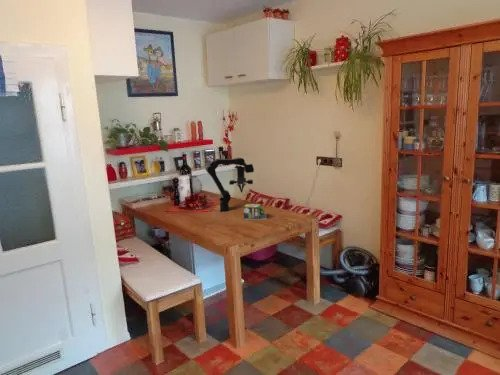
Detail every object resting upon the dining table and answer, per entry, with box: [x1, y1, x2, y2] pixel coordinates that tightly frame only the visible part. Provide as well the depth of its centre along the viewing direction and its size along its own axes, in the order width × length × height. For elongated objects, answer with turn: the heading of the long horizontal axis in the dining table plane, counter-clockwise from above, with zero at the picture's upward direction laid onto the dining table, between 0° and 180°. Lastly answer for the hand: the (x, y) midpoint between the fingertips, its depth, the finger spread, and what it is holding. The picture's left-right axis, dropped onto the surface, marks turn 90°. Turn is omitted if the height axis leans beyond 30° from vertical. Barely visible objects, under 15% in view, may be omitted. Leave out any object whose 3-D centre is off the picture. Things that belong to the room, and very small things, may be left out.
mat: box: [243, 212, 268, 221], centre depth 274 cm, size 16×16×1 cm
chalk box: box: [243, 203, 265, 219], centre depth 271 cm, size 9×9×15 cm
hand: (241, 192), depth 298 cm, fingers closed
